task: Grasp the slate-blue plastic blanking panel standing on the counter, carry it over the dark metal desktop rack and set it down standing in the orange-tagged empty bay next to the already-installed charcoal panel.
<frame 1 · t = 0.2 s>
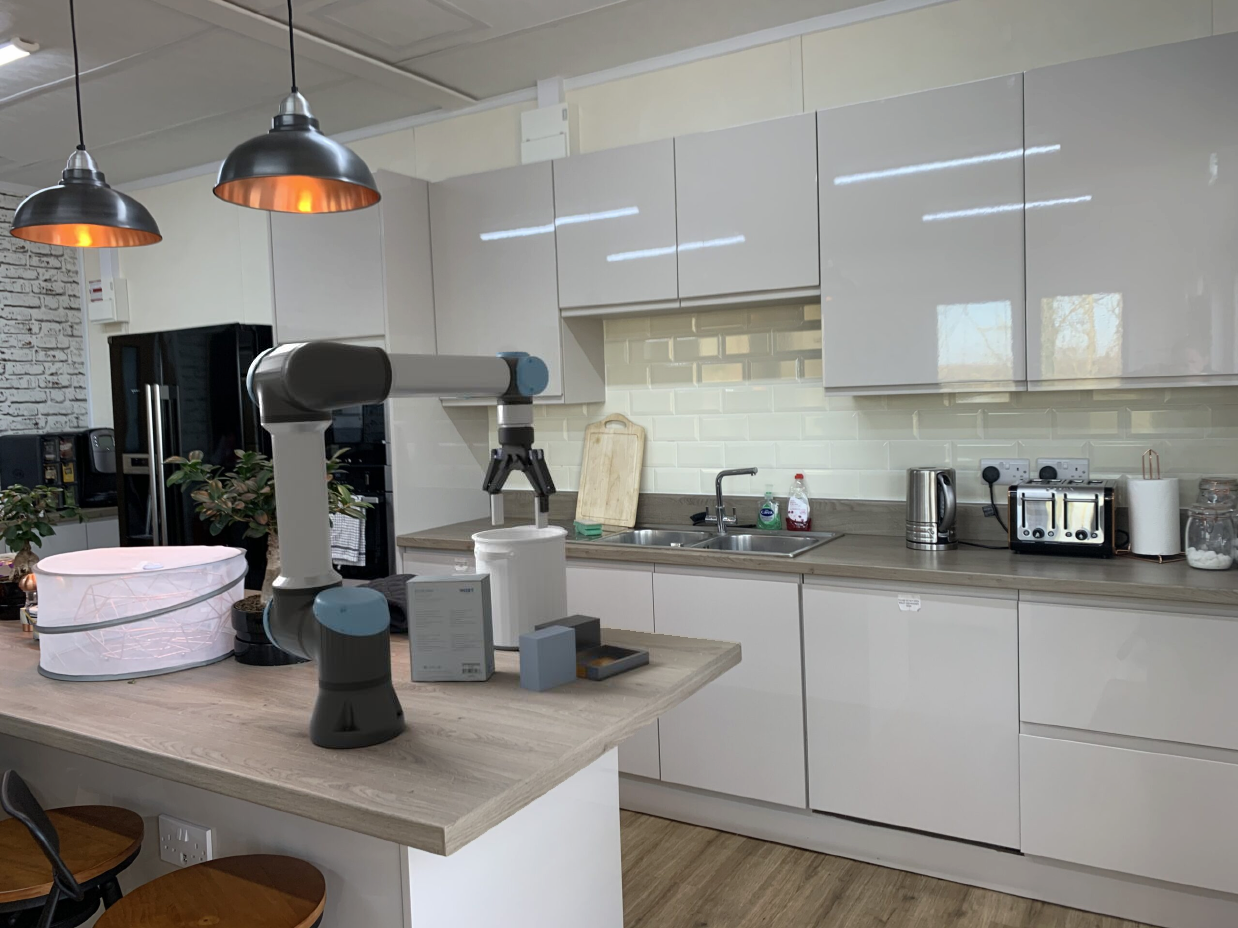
hand: (519, 526, 197), 28 cm above the countertop, fingers open, 13 cm apart
panel: (548, 683, 179), on the countertop
bucket: (523, 640, 213), on the countertop
hard drive box: (453, 677, 186), on the countertop
rack: (588, 663, 191), on the countertop
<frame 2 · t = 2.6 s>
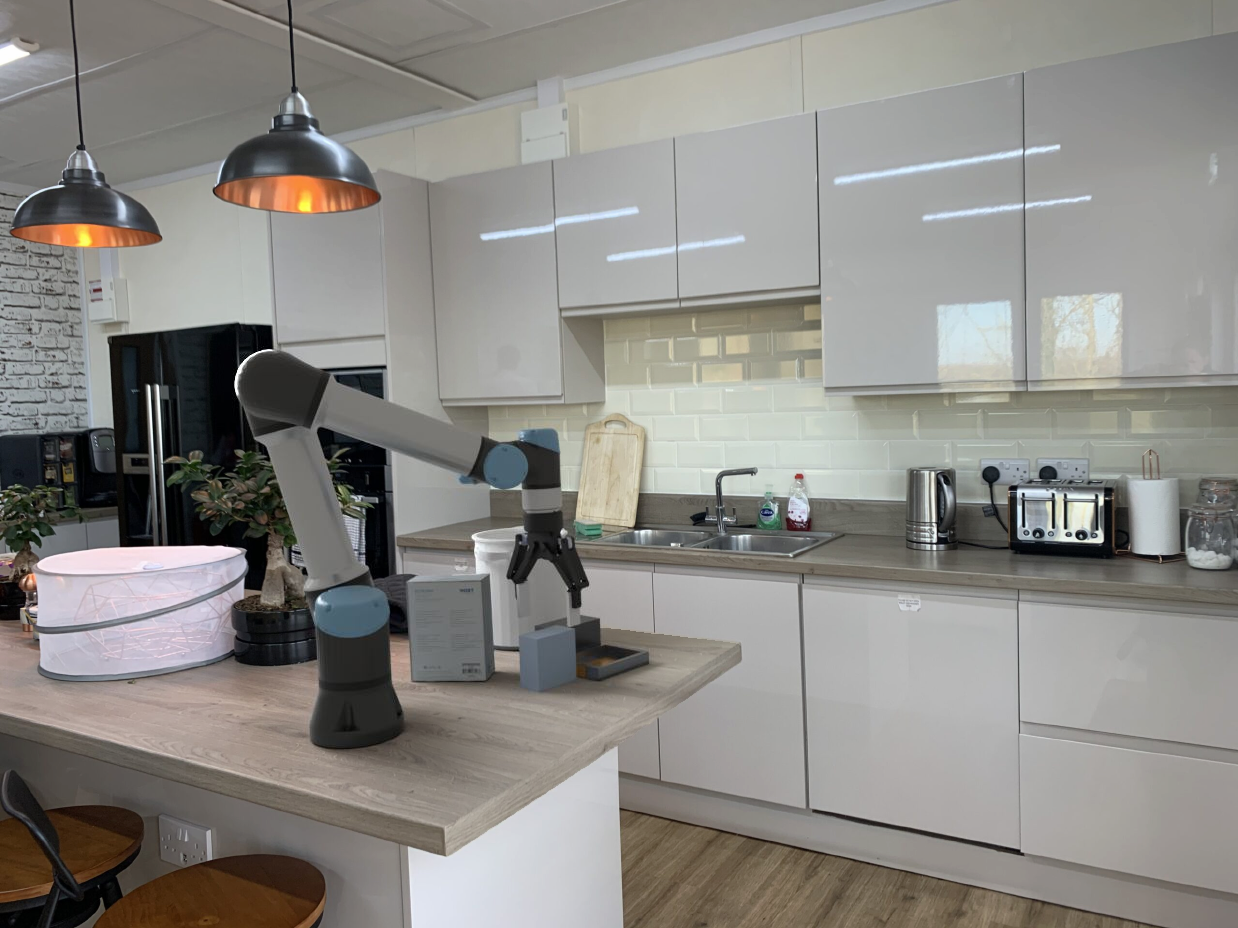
hand: (548, 620, 178), 12 cm above the countertop, fingers open, 13 cm apart
nothing on the countertop moved.
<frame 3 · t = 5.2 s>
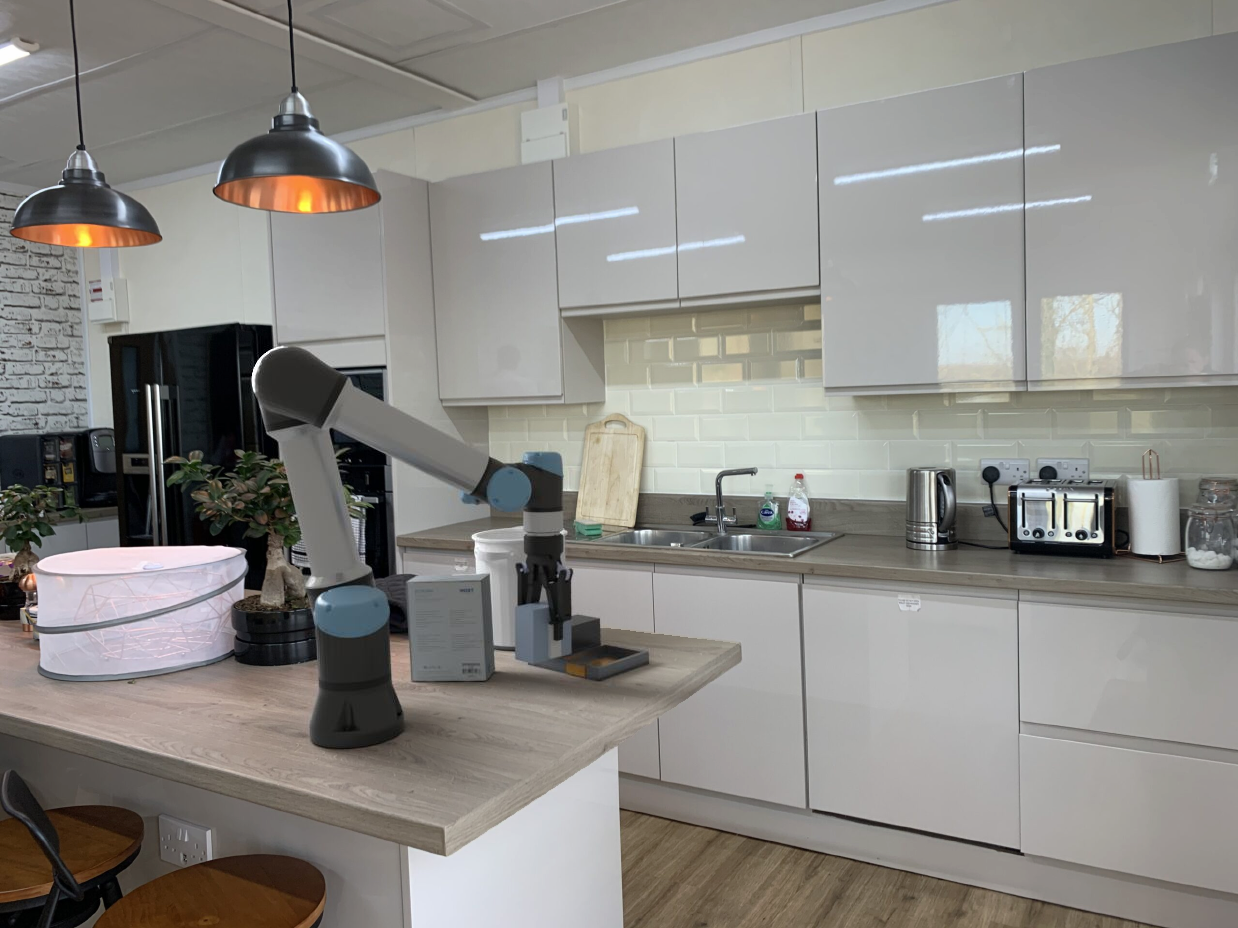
hand: (544, 653, 178), 6 cm above the countertop, fingers closed on panel, 5 cm apart
panel: (543, 656, 178), point 5 cm above the countertop, touching gripper
everything else where it was.
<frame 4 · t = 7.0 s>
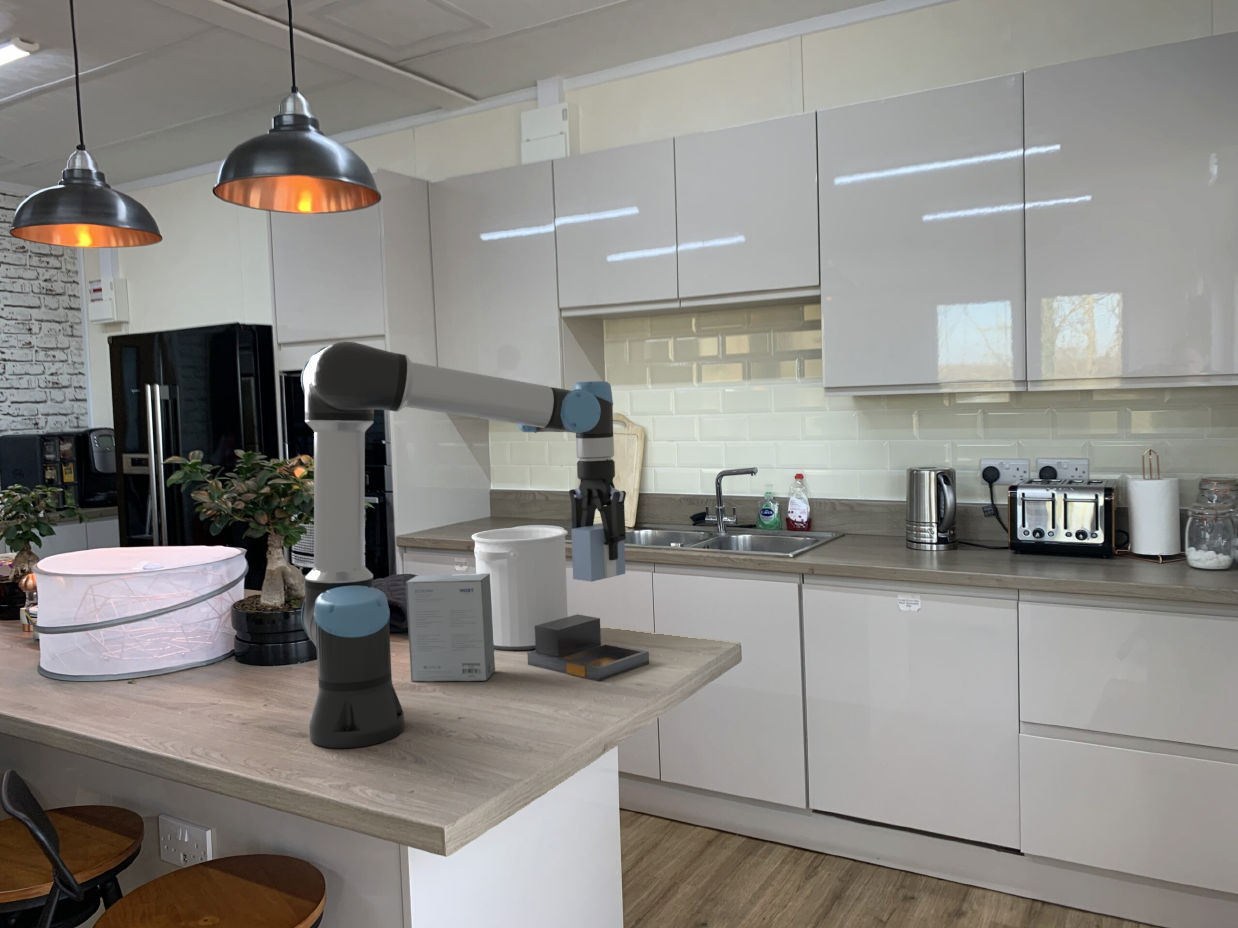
hand: (600, 574, 187), 19 cm above the countertop, fingers closed on panel, 5 cm apart
panel: (599, 576, 187), point 19 cm above the countertop, touching gripper
everything else where it was.
when the fingers open (3 cm above the countertop, at t = 9.2 s): panel drops 2 cm, resting on rack.
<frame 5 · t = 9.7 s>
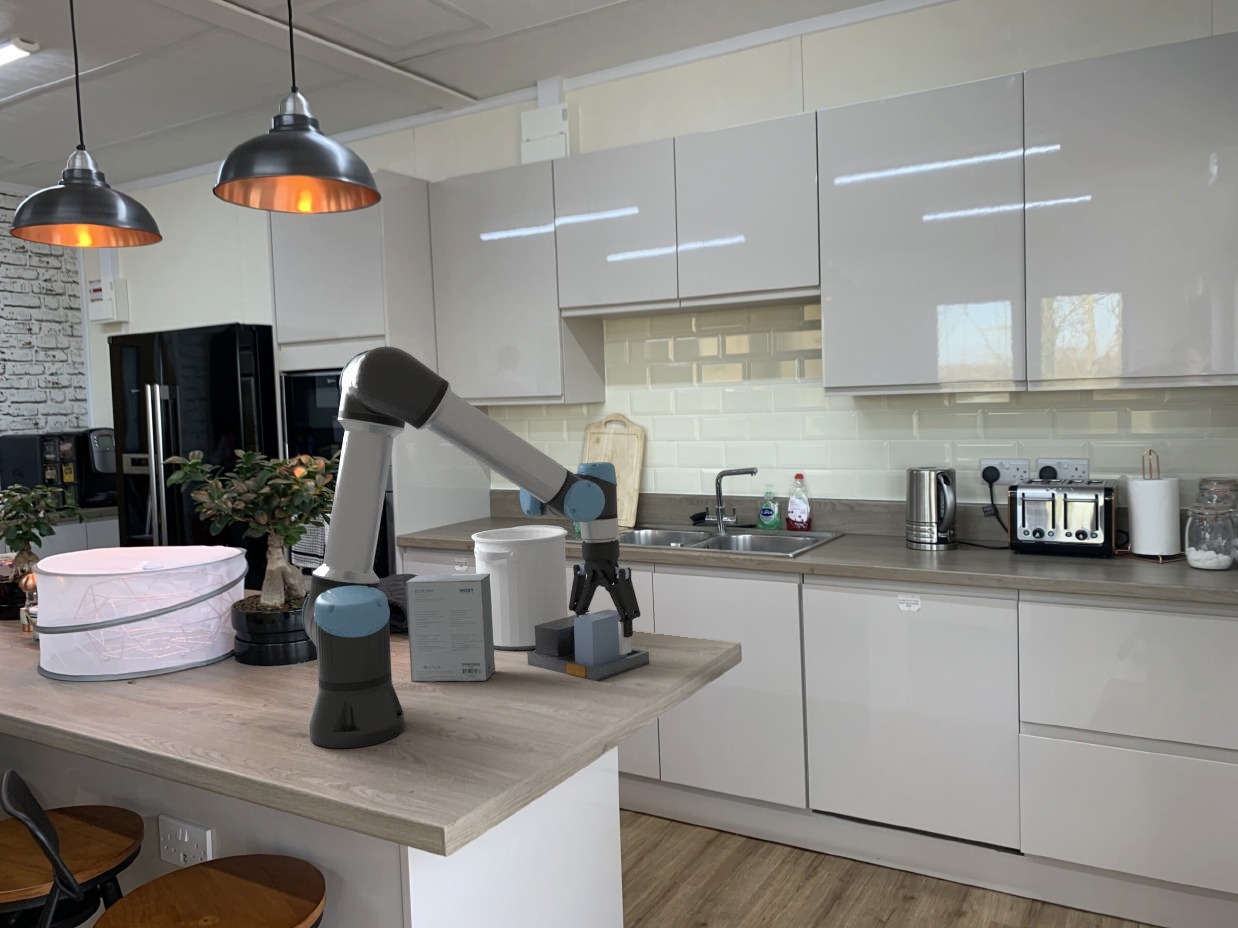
hand: (605, 649, 188), 4 cm above the countertop, fingers open, 10 cm apart
panel: (601, 663, 188), point 1 cm above the countertop, touching rack
everything else where it was.
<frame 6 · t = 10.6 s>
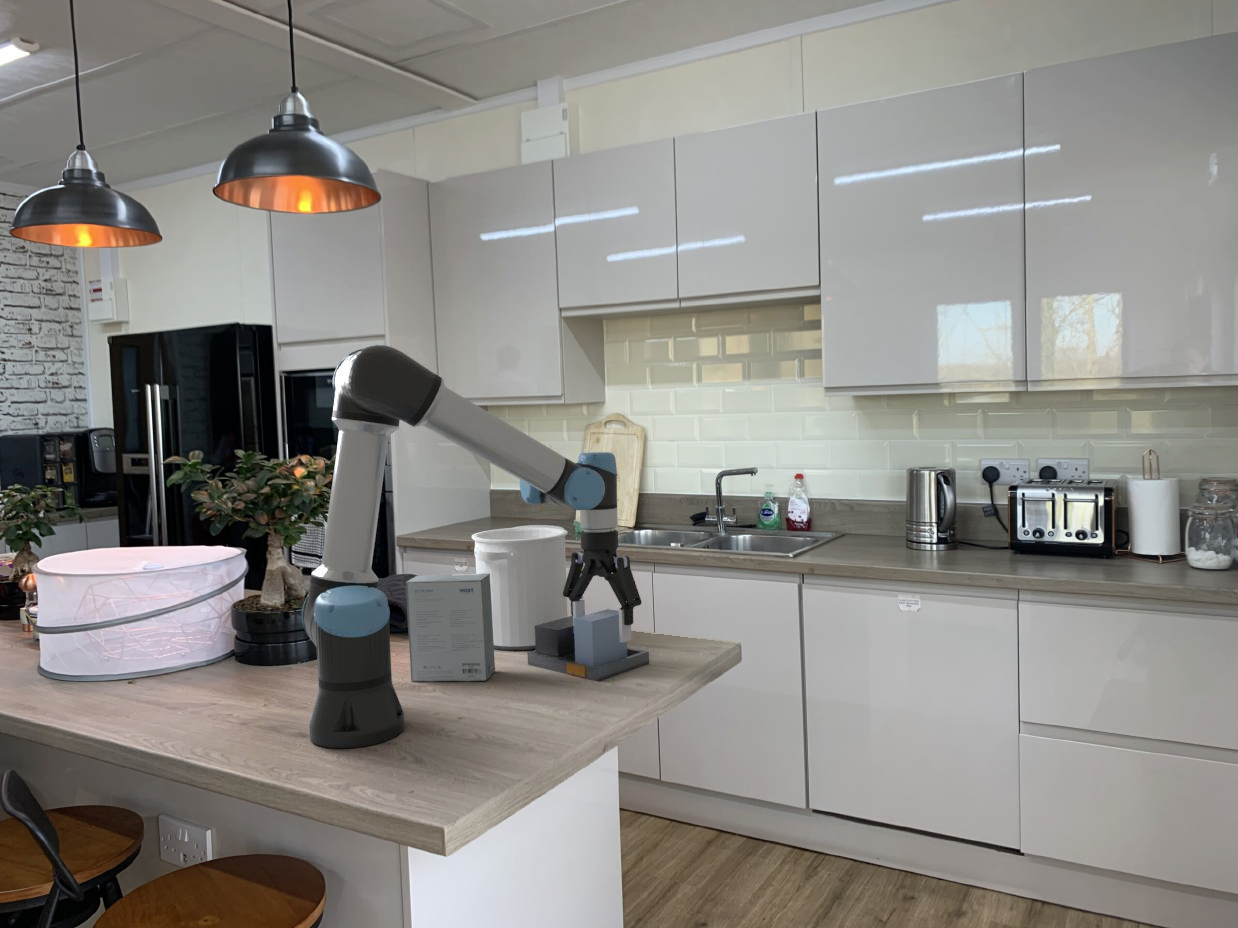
hand: (601, 636, 187), 6 cm above the countertop, fingers open, 12 cm apart
nothing on the countertop moved.
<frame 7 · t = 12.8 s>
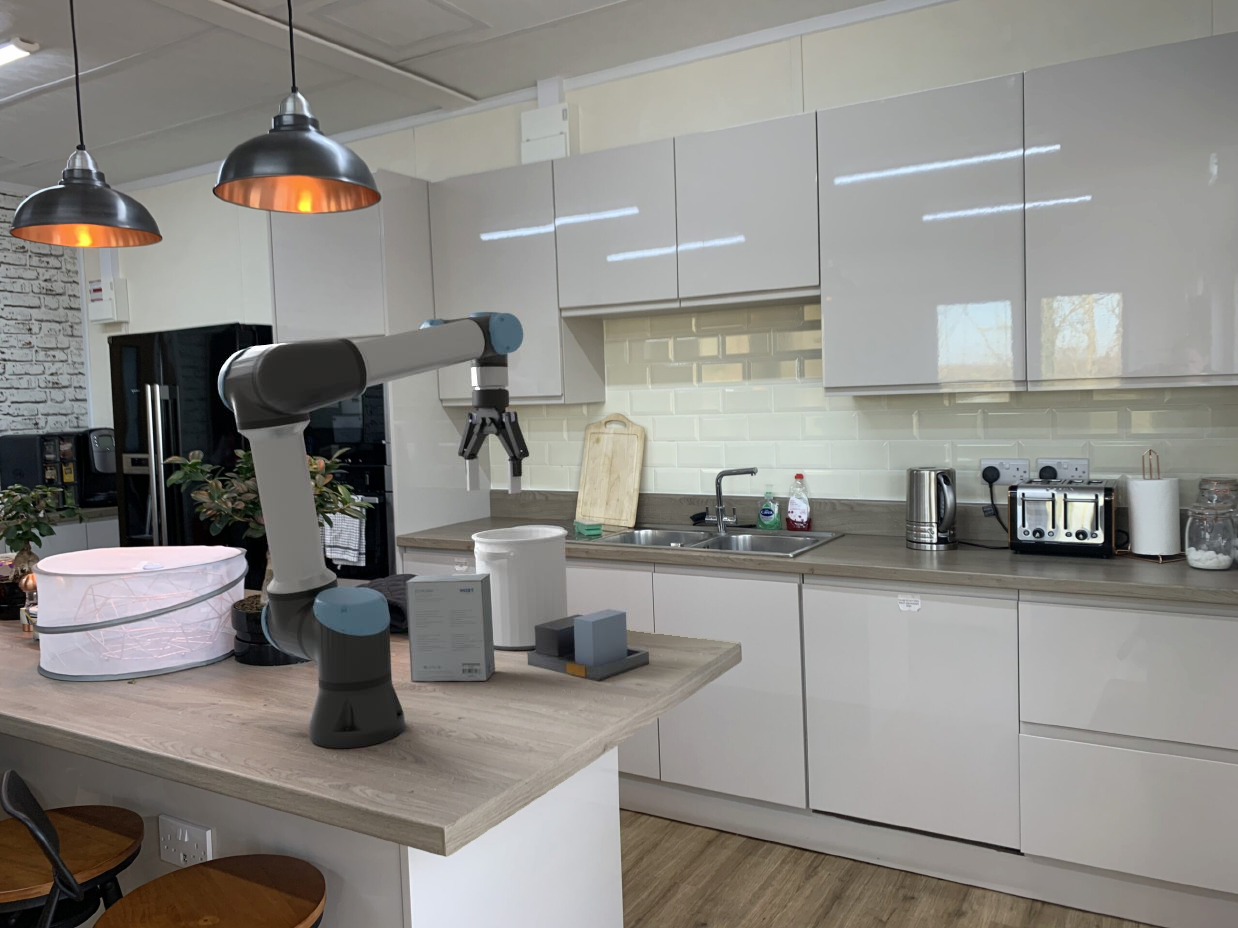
hand: (493, 491, 193), 36 cm above the countertop, fingers open, 13 cm apart
nothing on the countertop moved.
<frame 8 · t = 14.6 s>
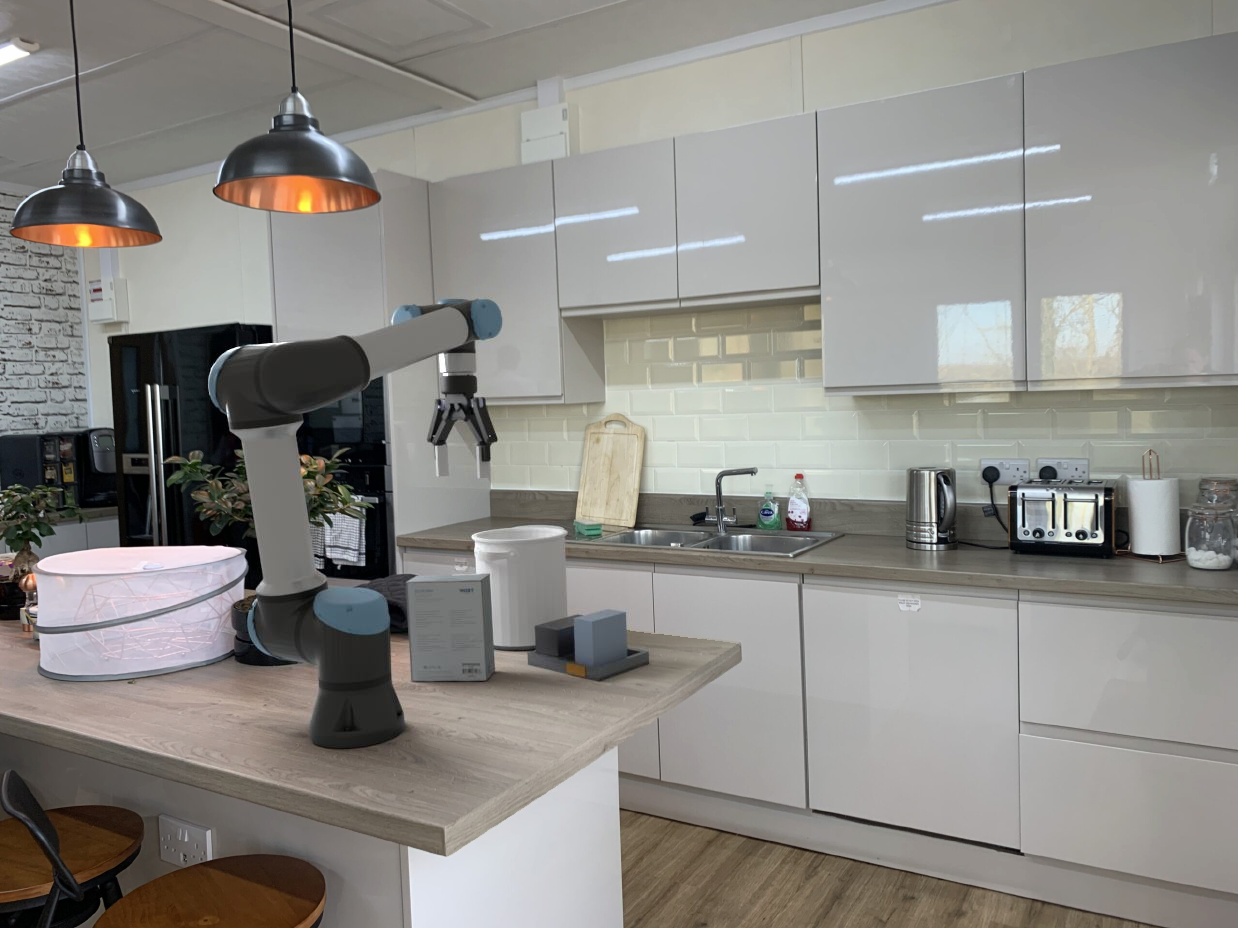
hand: (462, 477, 195), 39 cm above the countertop, fingers open, 13 cm apart
nothing on the countertop moved.
at the end: panel inside the target area on the rack (0.3 cm from its centre), point 0.7 cm above the rack's base; panel tilted 0°; the gripper is holding nothing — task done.
